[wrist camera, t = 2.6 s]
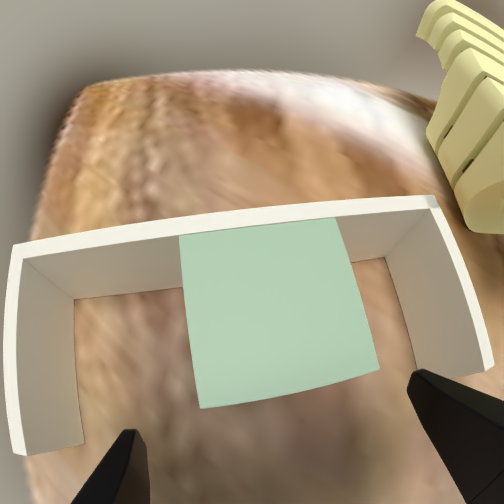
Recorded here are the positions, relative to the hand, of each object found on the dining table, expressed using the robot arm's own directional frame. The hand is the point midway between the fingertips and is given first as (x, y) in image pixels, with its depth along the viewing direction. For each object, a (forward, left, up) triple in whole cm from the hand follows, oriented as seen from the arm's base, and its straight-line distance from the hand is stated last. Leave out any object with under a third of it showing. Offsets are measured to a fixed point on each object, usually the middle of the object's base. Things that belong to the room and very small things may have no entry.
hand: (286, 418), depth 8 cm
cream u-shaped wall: (+3, +1, -10) cm, 11 cm away
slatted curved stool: (+28, -20, -11) cm, 36 cm away
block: (+3, +1, -10) cm, 11 cm away
